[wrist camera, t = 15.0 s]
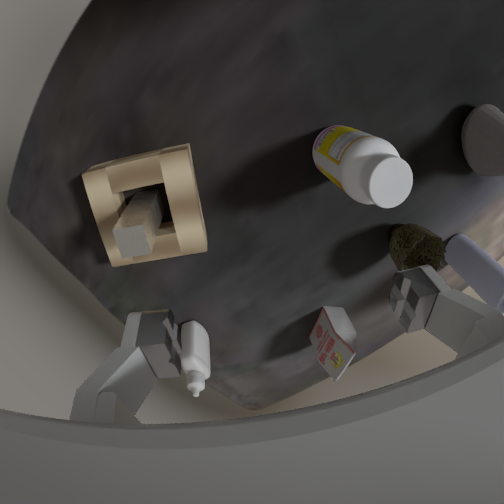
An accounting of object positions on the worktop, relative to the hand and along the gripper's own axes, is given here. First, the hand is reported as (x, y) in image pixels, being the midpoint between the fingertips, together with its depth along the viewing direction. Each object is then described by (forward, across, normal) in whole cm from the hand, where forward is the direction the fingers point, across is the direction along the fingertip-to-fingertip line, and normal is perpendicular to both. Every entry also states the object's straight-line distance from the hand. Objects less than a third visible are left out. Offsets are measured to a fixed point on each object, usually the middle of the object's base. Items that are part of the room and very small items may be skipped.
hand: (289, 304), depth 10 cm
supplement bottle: (+27, -12, +2) cm, 29 cm away
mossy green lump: (+26, -22, +15) cm, 37 cm away
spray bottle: (+26, -36, +20) cm, 49 cm away
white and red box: (+25, -11, +30) cm, 41 cm away
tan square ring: (+26, +11, +6) cm, 29 cm away
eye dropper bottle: (+25, +10, +28) cm, 39 cm away
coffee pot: (+27, -42, +1) cm, 50 cm away
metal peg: (+26, +11, +6) cm, 29 cm away
